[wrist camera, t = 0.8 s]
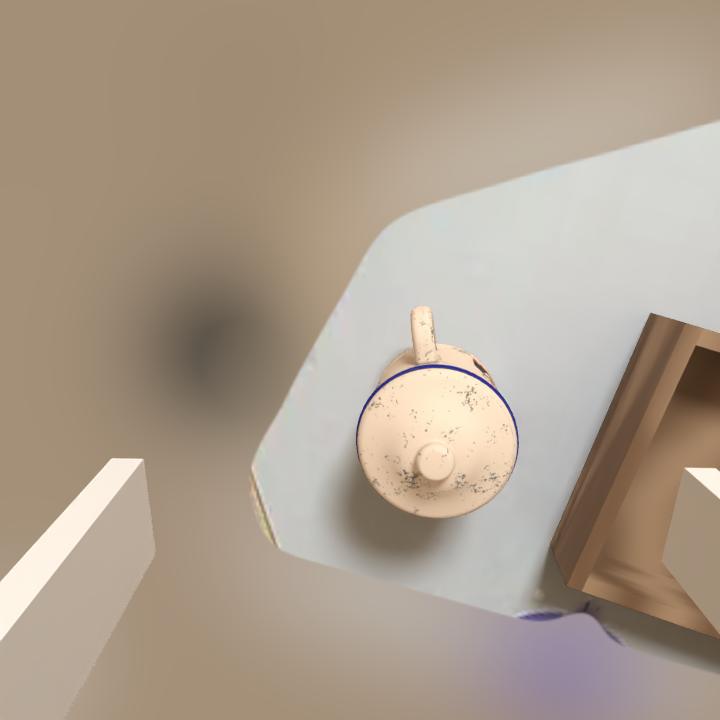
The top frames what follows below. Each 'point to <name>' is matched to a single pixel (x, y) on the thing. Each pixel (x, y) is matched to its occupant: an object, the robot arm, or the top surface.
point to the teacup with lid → (436, 429)
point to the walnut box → (645, 474)
